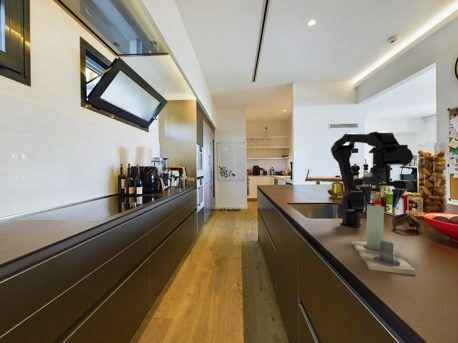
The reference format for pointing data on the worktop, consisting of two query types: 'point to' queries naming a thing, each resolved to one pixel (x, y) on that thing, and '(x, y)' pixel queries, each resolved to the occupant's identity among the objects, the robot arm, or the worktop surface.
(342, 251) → the worktop surface
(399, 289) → the worktop surface
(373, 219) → the sage pin
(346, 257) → the worktop surface
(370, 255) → the board
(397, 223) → the dark brown curved piece
